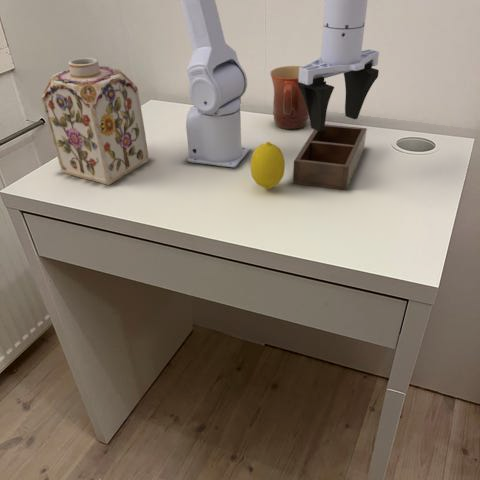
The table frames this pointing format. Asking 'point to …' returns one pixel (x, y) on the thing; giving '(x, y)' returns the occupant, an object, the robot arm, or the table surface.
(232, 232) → the table surface
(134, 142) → the decorative jar
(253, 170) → the lemon
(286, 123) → the mug
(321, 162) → the caddy
